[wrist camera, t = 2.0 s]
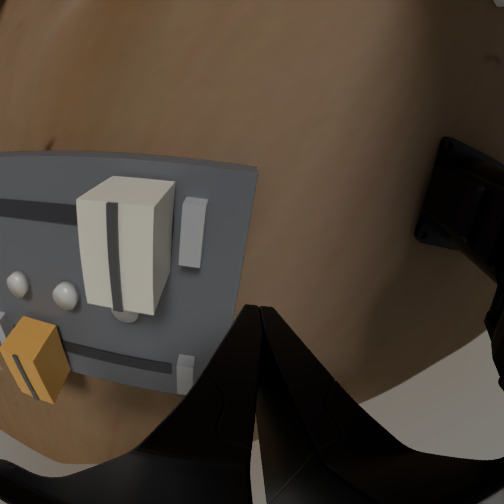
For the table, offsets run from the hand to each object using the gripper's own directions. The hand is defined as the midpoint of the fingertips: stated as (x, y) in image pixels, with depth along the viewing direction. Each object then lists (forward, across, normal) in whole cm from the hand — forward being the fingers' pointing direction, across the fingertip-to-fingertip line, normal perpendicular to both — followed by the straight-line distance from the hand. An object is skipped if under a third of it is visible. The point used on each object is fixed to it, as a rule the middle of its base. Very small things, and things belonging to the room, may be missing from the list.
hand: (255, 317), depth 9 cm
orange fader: (+6, +13, +10) cm, 18 cm away
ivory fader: (+6, +5, 0) cm, 8 cm away
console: (+8, +10, +5) cm, 14 cm away
